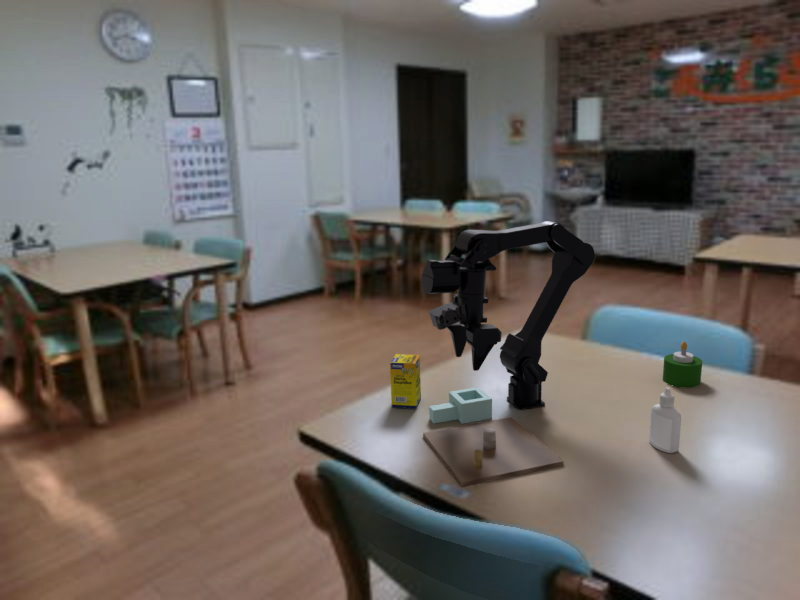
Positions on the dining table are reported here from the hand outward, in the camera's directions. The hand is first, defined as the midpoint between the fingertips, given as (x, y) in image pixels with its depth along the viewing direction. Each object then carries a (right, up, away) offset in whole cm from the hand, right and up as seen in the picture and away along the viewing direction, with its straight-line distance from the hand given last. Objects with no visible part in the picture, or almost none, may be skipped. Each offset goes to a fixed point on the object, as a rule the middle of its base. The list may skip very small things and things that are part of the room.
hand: (466, 363), depth 131 cm
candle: (+53, -6, +16) cm, 56 cm away
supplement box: (-13, -10, +10) cm, 19 cm away
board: (+3, -15, -13) cm, 20 cm away
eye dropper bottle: (+36, -15, -14) cm, 41 cm away
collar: (-2, -12, +2) cm, 12 cm away
